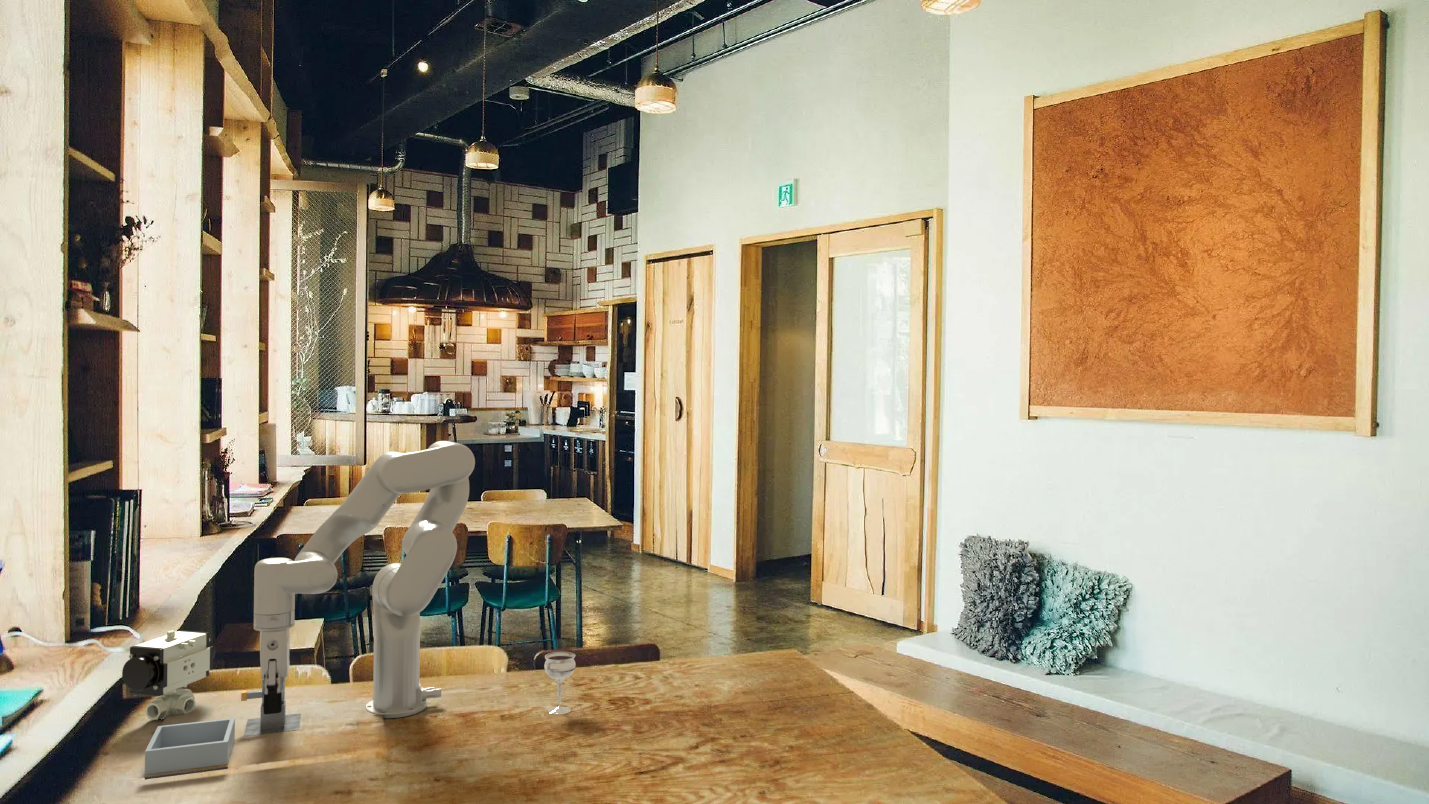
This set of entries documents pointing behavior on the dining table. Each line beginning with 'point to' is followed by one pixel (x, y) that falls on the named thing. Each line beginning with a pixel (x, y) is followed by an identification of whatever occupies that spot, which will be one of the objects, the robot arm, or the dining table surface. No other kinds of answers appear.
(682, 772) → the dining table surface
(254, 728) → the stud plate
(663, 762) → the dining table surface
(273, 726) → the grey upright piece
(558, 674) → the wineglass
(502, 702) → the dining table surface
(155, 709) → the ball valve
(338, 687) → the dining table surface
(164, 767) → the tub
